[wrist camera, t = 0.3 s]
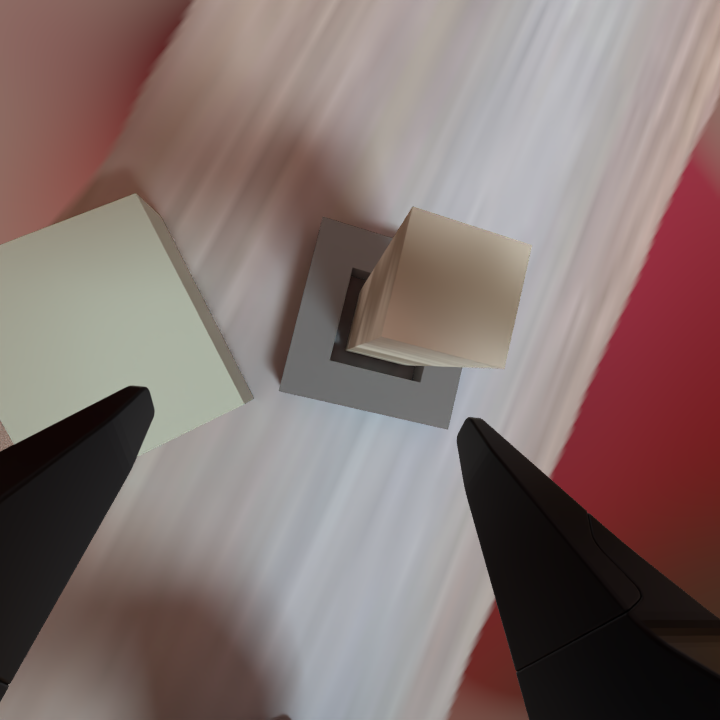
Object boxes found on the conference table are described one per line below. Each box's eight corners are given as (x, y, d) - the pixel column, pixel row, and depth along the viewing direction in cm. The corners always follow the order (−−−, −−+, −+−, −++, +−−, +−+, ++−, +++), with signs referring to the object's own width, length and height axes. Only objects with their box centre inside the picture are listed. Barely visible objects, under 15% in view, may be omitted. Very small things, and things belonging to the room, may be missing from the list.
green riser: (254, 398, 22) (244, 404, 19) (84, 481, 21) (46, 501, 18) (160, 216, 21) (136, 193, 18) (-22, 288, 20) (-82, 275, 17)
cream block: (402, 365, 24) (503, 368, 11) (345, 350, 23) (381, 336, 10) (415, 307, 24) (532, 245, 11) (359, 292, 23) (412, 206, 10)
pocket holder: (437, 423, 24) (447, 429, 22) (282, 388, 23) (278, 391, 21) (471, 274, 25) (485, 266, 23) (322, 229, 23) (322, 216, 21)
